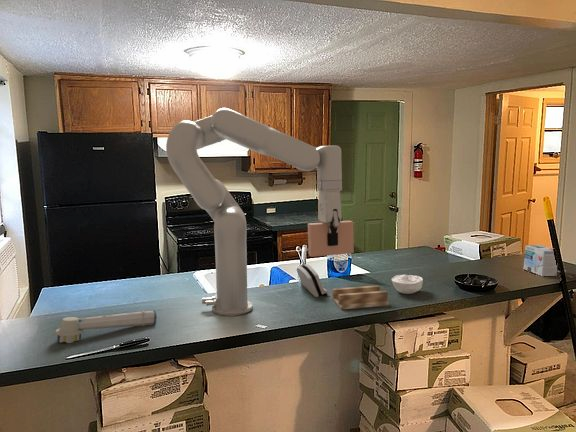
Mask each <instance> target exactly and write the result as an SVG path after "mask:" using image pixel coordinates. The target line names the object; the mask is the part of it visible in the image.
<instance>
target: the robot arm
mask: <svg viewBox="0 0 576 432" xmlns="http://www.w3.org/2000/svg"><path fill="white" fill-rule="evenodd" d="M225 140H227V141H230V142H232V143H234V144H237V145H239V146H242V147H243V148H246V149H248V150H250V151H253V152H255V153H256V154H257V153H258V154H260V155H263V156H267V157H268V156H269V157H271V158H274V159H277V160H279V161H282V162H284V163H286V164H288V165H291V166H293V167H294V168H296V169H297V170H300V171H303V172H310V171H313V170H315V169H316V174H317V176H316V178H317V182H316V183H317V192H318V202H317V203H318V205H317V209H318V211H317V218H318V220H319V221H320V223H321V222H323V223H325V224H328V232H329V233H327V239H328V246H336V245H338V227H339V223H340V222H341V221H342V200H341V191H342V190H343V180H342V179H343V173H342V172H343V171H342V168H343V167H342V163H343V162H342V147H340V146H339V145H334V144H333V145H320V146H313V145H311V144H309V143H307V142H305V141H302V140H300V139H298V138H296V137H294V136H291V135H289V134H286V133H283V132H282V131H279V130H277V129H275V128H273V127H271V126H269V125H266V124H264V123H262V122H260V121H258V120H255V119H254V118H250V117H248V116H246V115H244V114H242V113H240V112H238V111H235V110H233V109H230V108H227V107H222V108H219V109H217V110H216V111H215V112H213V114H212V115H210V116H207V117H204V118H200V119H197V120H195V121H191V120H182V121H179V122H177V123H176V124H175V125H174V126H173V127H172V129H171V130H170V131H169V134H168V136H167V140H166V148H165V150H166V156H167V159H168V162H169V164H170V167H171V168H172V169H173V171H174V173H175V174H176V175H177V177H178V179H179V180H180V182H182V184H183V186H184V188H186V190H187V192H188V193H189V194H190V196H191V197H192V198H193V200H194V202H195V203H196V204H197V206H198V207H199V208H201V209H202V210H205V211H206V213H207V214H208V215H209V216H210V218H211V219H212V220H213V222H214V224H213V232H214V233H213V235H214V236H213V237H214V253H215V255H214V256H215V281H216V282H215V283H216V292H215V294H214V296H213V295H212V297H208V296H207V297H202V298H201V304H202V305H206V306H211V311H212V312H213V313H214V314H216V315H220V316H228V317H229V316H230V317H231V316H232V317H233V316H241V315H244V314H247V313H249V312H251V311H252V310H253V302H251V301H250V300H248V267H247V266H248V262H247V261H248V258H247V255H248V252H247V235H248V234H247V229H248V228H247V227H248V226H247V220H246V219H247V218H246V215H245V213H244V211H243V209H242V208H241V207H240V205H239V204H238V202H237V201H236V200H235V199H234V197H233V195H232V194H231V193H230V192H229V190H228V189H227V187H226V186H225V185H224V183H223V182H222V181H221V180H219V179H217V178H215V177H214V175H213V174H212V173H211V172H210V170H209V168H208V167H207V165H206V164H205V163H204V161H203V160H202V159H201V158H200V155H199V154H198V150H200V149H203V148H206V147H209V146H211V145H212V146H213V145H214V144H217V143H220V142H223V141H225ZM330 222H333V223H330ZM331 225H332V226H331Z"/></svg>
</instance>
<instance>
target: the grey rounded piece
mask: <svg viewBox="0 0 576 432" xmlns="http://www.w3.org/2000/svg"><path fill="white" fill-rule="evenodd" d="M296 272H297V275H298V278H299V280H300V284H301V285H302V286H303V287H304V288H305V289H306V290H307V291H308V292H310V294H311V295H313V297H315V298H318V297H319V295H324V294H325V295H327V297H328V296H330V293H329V291H328V290H327V289H326V288H324V286H323V284H322V281H321V279H320V276H319V275H318V273H317V271H315V269H314V268H313V267H312V266H311V265H309V264H308V263H306V264H302V265H301V266H298V267H297V268H296Z"/></svg>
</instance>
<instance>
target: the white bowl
mask: <svg viewBox="0 0 576 432" xmlns="http://www.w3.org/2000/svg"><path fill="white" fill-rule="evenodd" d="M423 280H424V278H423V277H421V276H419V275H415V274H414V275H412V274H397V275H394V276H393V277H391V282H392V285H393V287H394V289H396V290H397V291H398V292H399V293H401V294H403V295H405V294H406V295H410V294H414V293H416V292H419V291H420V290H421V289H422V287H423V283H424V281H423Z"/></svg>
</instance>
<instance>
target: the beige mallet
mask: <svg viewBox="0 0 576 432" xmlns="http://www.w3.org/2000/svg"><path fill="white" fill-rule="evenodd" d="M157 319H158V318H157V312H156V310H144V309H141V310H140V311H134V312H133V311H132V312H124V313H116V314H105V315H98V316H89V317H81V318H79V317H77V316H67V317H63V318H62V319H61V321H60V325H59V328H57V329H55V335H56V342H57V343H60V344H62V343H66V344H71V343H72V344H73V343H74V342H76V341H77V342H78V341H80V340H81V338H82V333H84V330H85V331H86V330H98V329H114V328H128V327H142V328H143V327H144V326H151V325H152V326H153V325H156V323H157Z"/></svg>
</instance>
